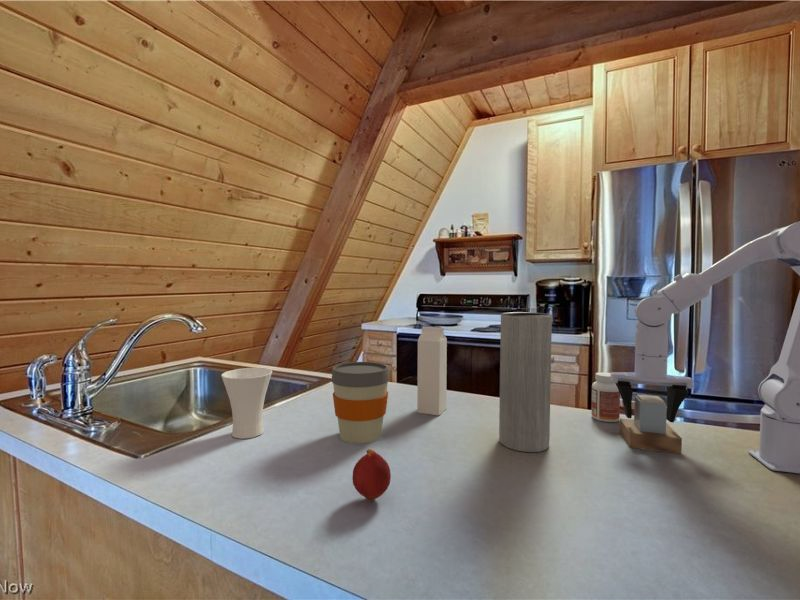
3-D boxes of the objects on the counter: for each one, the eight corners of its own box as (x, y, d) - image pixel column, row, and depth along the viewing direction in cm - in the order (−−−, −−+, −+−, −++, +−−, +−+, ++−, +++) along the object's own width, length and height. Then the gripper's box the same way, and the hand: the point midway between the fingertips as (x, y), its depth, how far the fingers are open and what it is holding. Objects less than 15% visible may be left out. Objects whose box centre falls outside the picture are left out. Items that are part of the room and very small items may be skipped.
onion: (371, 486, 64) (371, 438, 64) (398, 498, 60) (398, 447, 60) (344, 501, 60) (344, 449, 59) (372, 515, 56) (372, 460, 56)
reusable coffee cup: (321, 443, 81) (321, 371, 80) (344, 422, 93) (344, 360, 92) (379, 449, 78) (380, 375, 77) (395, 427, 90) (395, 363, 89)
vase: (531, 457, 75) (534, 316, 73) (489, 441, 82) (491, 313, 81) (558, 444, 81) (561, 314, 80) (516, 430, 89) (518, 311, 88)
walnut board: (665, 436, 85) (666, 422, 85) (681, 453, 77) (681, 438, 77) (619, 431, 88) (619, 418, 88) (629, 447, 80) (629, 432, 79)
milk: (425, 406, 106) (425, 325, 105) (446, 409, 103) (447, 326, 103) (416, 412, 100) (417, 327, 100) (439, 416, 98) (440, 328, 97)
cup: (274, 438, 83) (273, 376, 83) (220, 446, 79) (219, 380, 79) (271, 422, 93) (270, 366, 93) (223, 428, 89) (222, 369, 89)
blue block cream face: (658, 426, 83) (659, 395, 83) (665, 433, 79) (666, 402, 79) (634, 423, 85) (634, 393, 84) (639, 431, 80) (640, 399, 80)
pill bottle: (624, 419, 96) (625, 375, 95) (611, 424, 92) (612, 378, 92) (599, 412, 101) (600, 370, 100) (586, 417, 97) (587, 373, 97)
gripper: (684, 353, 83) (682, 416, 84) (608, 349, 88) (606, 409, 88) (698, 359, 76) (695, 427, 77) (615, 355, 81) (613, 419, 82)
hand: (649, 418), depth 82 cm, fingers open, 7 cm apart
